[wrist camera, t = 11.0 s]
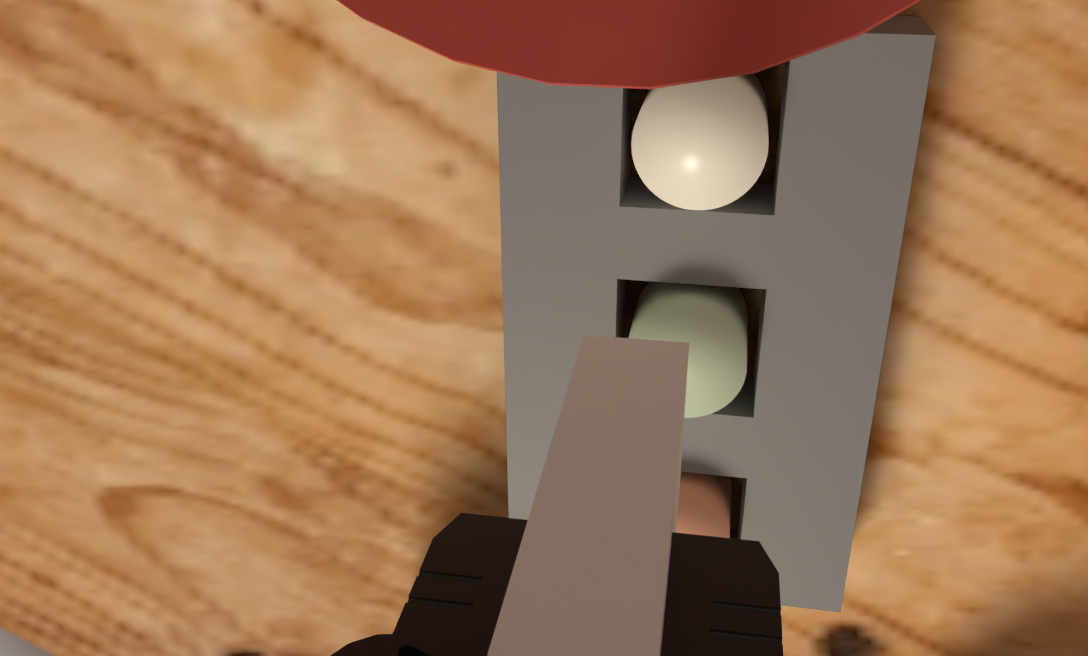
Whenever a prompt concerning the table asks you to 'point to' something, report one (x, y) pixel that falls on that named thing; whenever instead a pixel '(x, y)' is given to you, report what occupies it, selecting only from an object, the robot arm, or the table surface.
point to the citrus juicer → (626, 35)
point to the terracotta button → (704, 505)
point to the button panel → (726, 282)
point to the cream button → (702, 141)
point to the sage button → (699, 337)
